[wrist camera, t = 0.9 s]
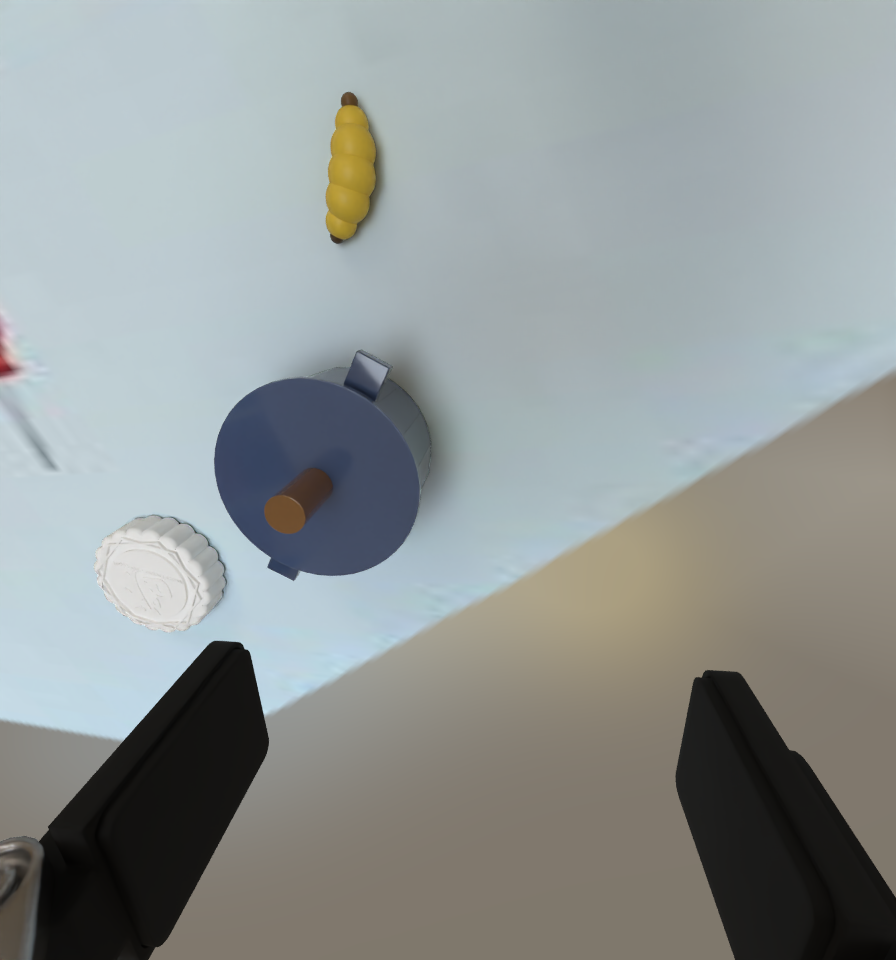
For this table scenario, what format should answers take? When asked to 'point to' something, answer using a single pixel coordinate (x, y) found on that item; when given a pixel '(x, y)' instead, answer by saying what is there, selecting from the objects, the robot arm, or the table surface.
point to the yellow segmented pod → (349, 170)
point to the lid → (317, 476)
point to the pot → (374, 383)
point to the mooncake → (160, 573)
